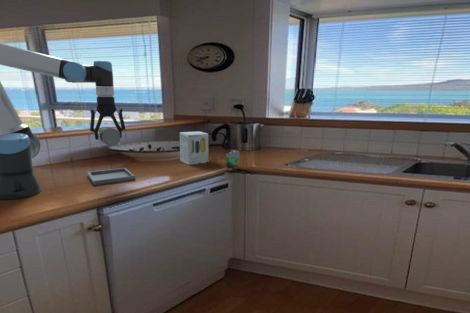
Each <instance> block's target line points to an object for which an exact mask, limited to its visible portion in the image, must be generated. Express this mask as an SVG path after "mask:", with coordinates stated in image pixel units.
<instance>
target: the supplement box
mask: <svg viewBox="0 0 470 313" xmlns="http://www.w3.org/2000/svg"><path fill="white" fill-rule="evenodd" d="M179 161H180V162H182V163H184V164H186V165H199V163H201V164H207V163H206V162H208V163H209V133H207V132H204V131H199V130H198V131H181V132H179Z"/></svg>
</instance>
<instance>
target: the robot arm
mask: <svg viewBox="0 0 470 313" xmlns="http://www.w3.org/2000/svg"><path fill="white" fill-rule="evenodd" d="M0 65H1V66H5V67H10V68H13V69H18V70H23V71H27V72H31V73H36V74H40V75H45V76H49V77H53V78H56V79H57V78H59V79H61V80H64V81H65V82H67V83H73V84H74V83H75V84H77V83H78V84H79V83H87V84H88V83H90V84H91V83H92V84H93V83H94V84H95V93H96V96H97V97H96V108H94V109H90V110H89V112H90V123H89V125H90V126H89V131H90V132H92V133H94V138H95V140H96V141H97V146H98V147H99V148H101V147H102V143H101V142H102V141H101V140H100V133H99V130H100V129H101V128H100V127H101V125H102V121H103V120H104V118H110V119H111V120H112V121H113V123H114V125H115V127H116V130H117V131H118V132H119V133H120V139H123V138H122V137H123V133H122V131H124V130H126V124H125V121H124V117H123V109H122V108H117V107H116V102H115V100H116V99H115V97H114V96H115V89H114V73H113V64H112V62H111V61H109V60H94V61H93V64H89V65H87V64H82V63H81V62H79V61H73V60H69V59H63V58H59V57H58V56H57V57H56V56H52V55H48V54H45V53H40V52H36V51H33V50H32V51H31V50H28V49H23V48H21V47H15V46H13V45H8V44H4V43H0ZM97 113H99V116H98V119H97V122H96V125H95V120H96V118H95V117H96V114H97ZM115 113H117V115H118V118H119V119H118V120H119V122H118V121H117V118H116V116H115ZM116 145H117V146H121V140H120V141H119V143H118V144H116ZM41 147H42V146H41V142H40V139H39V138H38V137H37V135H35V134H34V133H33V131H32V130H31V127H30V126H29V125H27V124H24V123H23V121H22V120H21V117H20V116H19V114H18V112H17V110H16V108H15V106H14V105H13V103H12V101H11V99H10V97H9V95H8V93H7V91H6V89H5V87H4V86H3V83H2V82H1V81H0V200H16V199H22V198H29V197H32V196H34V195H36V194H39V193H40V192H41V185H40V184H41V183H40V182H38V179H37V178H36V175H35V173H34V166H33V159H34V158H35V157H37V155H39V152H40V150H41Z"/></svg>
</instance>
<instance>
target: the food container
mask: <svg viewBox="0 0 470 313" xmlns="http://www.w3.org/2000/svg"><path fill="white" fill-rule="evenodd" d="M240 156H241V153H240V151H239V150H237V149H230V151H228V153H227V152H226V153H225V159H226V160H225V162H226V163H225V164H226V168H225V170H226V172H236V171H238V169H239V167H238V166H239V157H240Z"/></svg>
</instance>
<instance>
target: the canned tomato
mask: <svg viewBox="0 0 470 313" xmlns="http://www.w3.org/2000/svg"><path fill="white" fill-rule="evenodd" d="M98 132H99V133H100V140H101V142H102V143H104V145H106V146H109V147H112V146H113V147H115V146H116V145H117V144H118V143H119V141H120V142H121V138H120V133H119V132H118V129H115V128H113V127H110V126H102V127H101V128H99V130H98Z"/></svg>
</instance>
